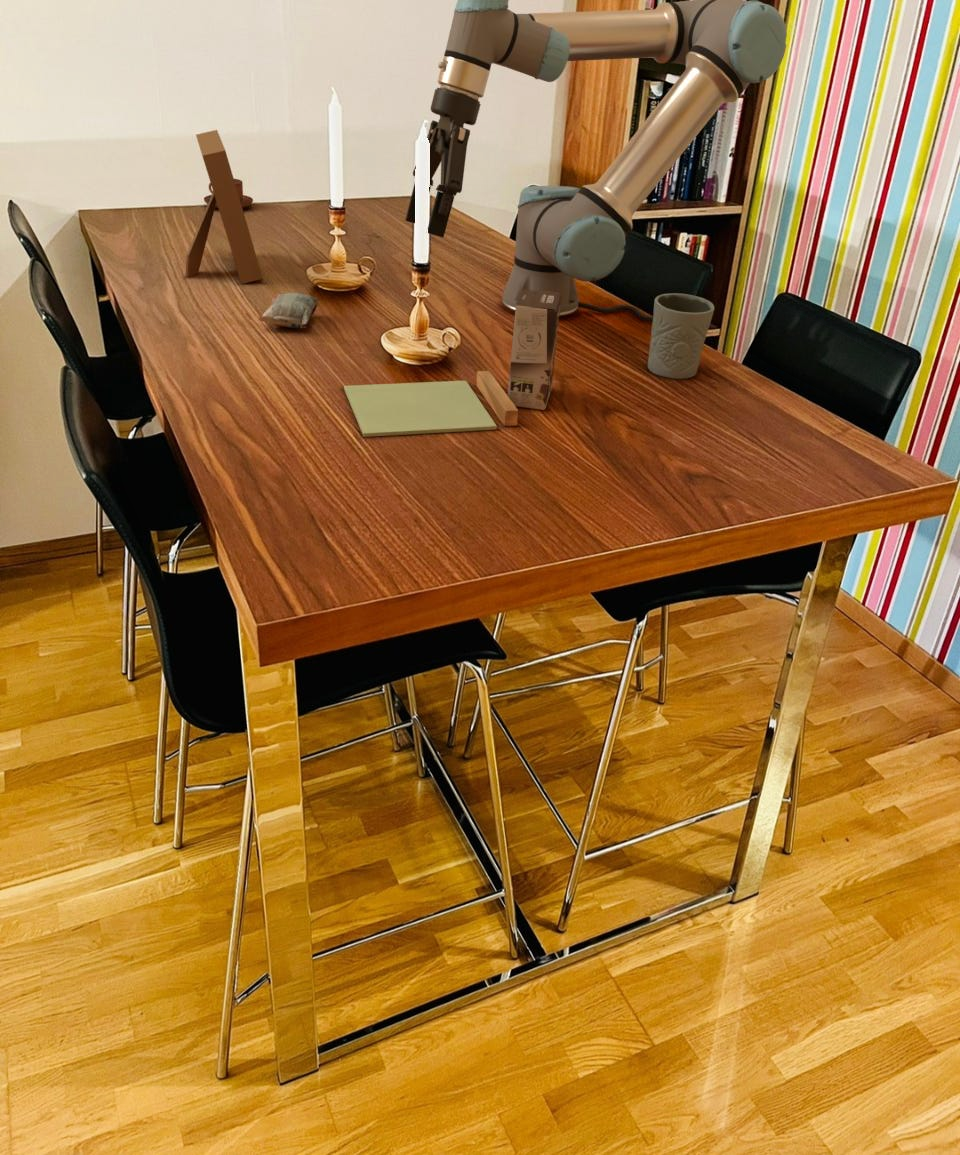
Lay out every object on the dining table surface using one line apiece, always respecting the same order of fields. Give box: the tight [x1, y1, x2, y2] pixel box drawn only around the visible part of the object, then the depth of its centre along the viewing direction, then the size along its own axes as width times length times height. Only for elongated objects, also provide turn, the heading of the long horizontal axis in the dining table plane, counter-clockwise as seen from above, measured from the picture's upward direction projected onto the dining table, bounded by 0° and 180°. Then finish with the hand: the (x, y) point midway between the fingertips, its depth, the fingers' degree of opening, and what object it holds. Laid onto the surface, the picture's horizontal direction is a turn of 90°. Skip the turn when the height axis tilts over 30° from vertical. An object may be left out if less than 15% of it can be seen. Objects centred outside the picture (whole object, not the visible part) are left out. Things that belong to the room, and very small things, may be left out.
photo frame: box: [185, 129, 264, 285], centre depth 202 cm, size 15×22×25 cm
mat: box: [343, 380, 498, 438], centre depth 154 cm, size 20×18×1 cm
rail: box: [475, 370, 519, 427], centre depth 157 cm, size 2×16×2 cm, turn 15°
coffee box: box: [507, 289, 562, 411], centre depth 156 cm, size 9×6×16 cm
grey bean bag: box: [258, 292, 319, 329], centre depth 182 cm, size 9×12×5 cm
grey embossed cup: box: [647, 292, 715, 380], centre depth 172 cm, size 10×10×12 cm
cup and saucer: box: [203, 178, 254, 209], centre depth 252 cm, size 12×12×6 cm
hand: (423, 229), depth 167 cm, fingers open, 13 cm apart
